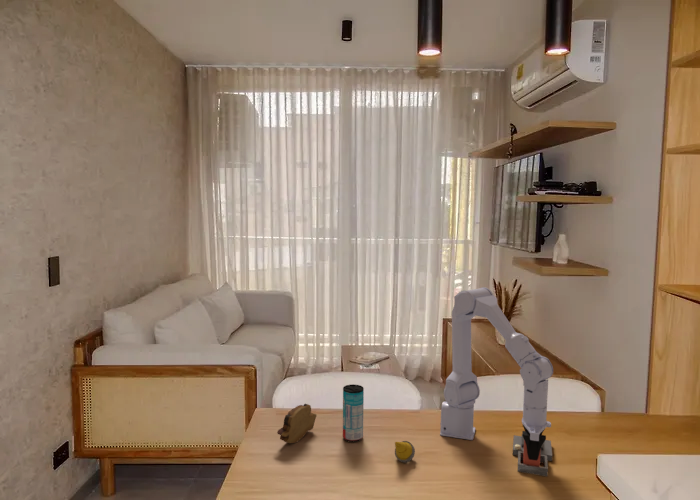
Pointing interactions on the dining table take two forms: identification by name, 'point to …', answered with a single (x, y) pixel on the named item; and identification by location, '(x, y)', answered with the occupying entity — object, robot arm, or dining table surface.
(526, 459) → the peg
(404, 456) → the yellow flanged cylinder
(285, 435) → the wooden carving
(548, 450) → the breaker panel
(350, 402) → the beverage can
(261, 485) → the dining table surface
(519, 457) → the frame
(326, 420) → the dining table surface
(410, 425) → the dining table surface
